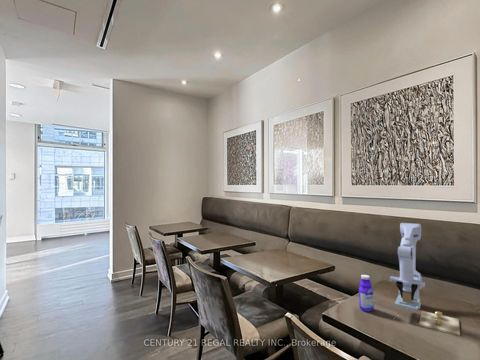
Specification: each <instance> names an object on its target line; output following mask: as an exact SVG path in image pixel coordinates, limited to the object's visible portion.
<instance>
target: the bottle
mask: <svg viewBox="0 0 480 360" xmlns="http://www.w3.org/2000/svg"><path fill="white" fill-rule="evenodd" d="M360 277H361V278H360V282H359V289H358V298H359V299H358V300H359V301H358V302H359V303H358V304H359V305H358V306H359V309H360V310H361V311H364V312H371V311H373V310H374V304H375V303H374V302H375V301H374V289H373V287H372V282H371V276H370V275H368V274H361V275H360Z"/></svg>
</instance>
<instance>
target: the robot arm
mask: <svg viewBox="0 0 480 360" xmlns="http://www.w3.org/2000/svg"><path fill="white" fill-rule="evenodd" d="M399 231H400V235H401V240H400V246H397V247H398V248H397V255H398V262H399V276H389V282H395V285H396V287H397V289H398V295H401V298H403V294H402V292H403V290H404V291H409V292H412V296H411V299H412V301H413V299H414V298H415V299H420V290H421V289H422V288H425V287H426V282H425V281H423V280H422V279H423V277H422V274H421V272H419V271H417V270H416V268H417V267H416V263H417V262H416V260H417V259H416V254H417V242H418V241H420V240H421V238H422V225H421V223H409V222H400V224H399ZM415 302H417V301H415ZM421 305H422V304H421V302H420V303H419V307H418V310H420V309H421ZM406 306H410V305H406ZM410 307H414V306H410ZM415 308H416V307H415Z"/></svg>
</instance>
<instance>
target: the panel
mask: <svg viewBox="0 0 480 360" xmlns="http://www.w3.org/2000/svg"><path fill="white" fill-rule="evenodd" d="M402 294H403V298H401V295H399V294H398V295H397V297H396V299H395V302H394V306H395V307H400V308H403V309H408V310H413V311H416V312H418V310H419V309H418V307H419V303H421V299H420V298H419V299H415V298H414V299H413V301H412V299H411V296H412V292H409V291H404V290H403V292H402ZM415 301H417V302H415ZM406 305H410V306H414V307H410V306H406ZM415 307H416V308H415Z"/></svg>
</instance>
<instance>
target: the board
mask: <svg viewBox="0 0 480 360" xmlns="http://www.w3.org/2000/svg"><path fill="white" fill-rule="evenodd" d="M435 317H436V318H437V315H436V314H435V312H434V313H433V312H429V311H424V310H421V314H420V317H419V323H418V324H419V325H418V326H420V327H424V328H428V329H431V330H435V331H439V332H440V331H441V332H442V333H443V332H444V333H448V334H451V335H455V336H461V331H460V319H459V318H455V317H450V316H446V315H443V314H442V315H440V319H442V322H440V326H439V325H436V321H435V320H434V318H435Z"/></svg>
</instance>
